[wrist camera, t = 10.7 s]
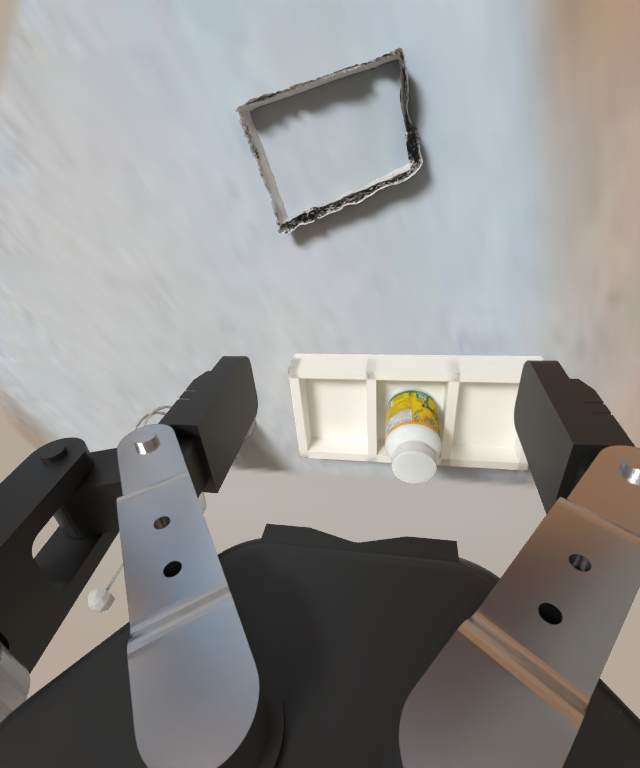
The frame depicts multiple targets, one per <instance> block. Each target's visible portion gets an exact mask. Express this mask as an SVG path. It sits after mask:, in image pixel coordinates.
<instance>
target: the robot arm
mask: <svg viewBox="0 0 640 768" xmlns="http://www.w3.org/2000/svg"><path fill="white" fill-rule="evenodd" d="M257 408H258V400H257V394H256V389H255V383H254V378H253V373H252V368H251V363H250V360H249V358H248V357H246V356H223V357H222V358H221V359H220V360H219V362H218V363H217V364H216V366H215V367H214V368H213V369H212V371H207V372H205V373H204V374H202V375H201V376H199V377H197V378H196V379H194V380H193V382H192V383H191V384H190V385H189V387H188V388H187V389H186V392H185V391H184V393H183V394H182V395H181V396H180V399H179V400H177V401H176V402H175V404H174V405H173V406H172V407H171V409H170V410H169V411H168V412H167V414H166V415H165V416H164V417H163V418H162V420H161V421H160V422H159V423H158V424H153V425H147V426H144V427H141V428H138V429H136V430H134V431H132V432H131V433H129V434H128V435H126V436H125V437H124V438H123V439H122V440H121V441H120V443H119V444H118V447H117V448H114V449H108V450H103V451H97V452H91V453H90V452H89V450H88V448H87V446H86V444H85V442H84V441H83V440H81V439H79V438H64V439H59V440H56V441H53V442H50V443H48V444H46V445H44V446H42V447H40V448H39V449H37V450H36V451H34V452H33V453H32V454H31V455H30V456H29V457H28V458H26V459H25V460H24V461H23V462H22V463H21V464H20V465H19V466H18V467H17V468H16V469H15V470H14V471H13V472H12V473H11V474H10V475H9V476H8V477H7V478H6V479H5V480H4V481H3V482H2V483H0V768H640V719H639V718H638V717H637V716H636V715H635V714H634V713H633V712H632V711H631V710H630V709H629V708H628V707H627V706H626V705H625V704H624V703H623V702H622V701H621V700H620V698H619V697H618V696H616V694H615V693H614V692H613V691H612V690H611V689H610V688H609V687H608V686H607V685H606V684H605V683H604V682H603V681H602V680H601V679H600V675H601V673H602V671H603V669H604V666H605V664H606V662H607V660H608V657H609V655H610V653H611V650H612V648H613V646H614V644H615V641H616V639H617V637H618V634H619V632H620V630H621V628H622V625H623V623H624V621H625V619H626V616H627V614H628V612H629V609H630V607H631V605H632V603H633V600H634V598H635V596H636V593H637V591H638V589H639V587H640V448H637V447H635V446H634V444H633V443H632V441H631V440H630V439H629V437H628V436H627V434H626V433H625V432H624V430H623V429H622V427H621V426H620V425H619V423H618V422H617V420H616V419H615V418H614V416H613V415H611V412H610V411H609V409H608V408H607V406H606V405H603V401H602V399H601V398H600V397H599V395H598V394H597V392H596V391H595V390H594V389H593V388H591V387H590V386H588V385H587V384H585V383H584V382H582V381H581V380H579V379H569V377H568V376H567V374H566V373H565V371H564V370H563V368H562V366H561V365H560V363H559V362H558V361H537V360H527V361H526V362H525V363H524V366H523V369H522V374H521V379H520V383H519V388H518V393H517V398H516V402H515V407H514V425H515V429H516V432H517V435H518V437H519V440H520V443H521V446H522V448H523V451H524V454H525V457H526V459H527V462H528V465H529V468H530V470H531V473H532V476H533V478H534V481H535V484H536V487H537V489H538V492H539V495H540V498H541V500H542V503H543V506H544V509H545V510H546V514H547V515H546V517H545V518H544V519H543V521H542V522H541V524H540V525H539V526H538V528H537V529H536V530H535V532H534V533H533V534H532V536H531V537H530V539H529V540H528V541H527V543H526V544H525V545H524V547H523V548H522V549H521V551H520V552H519V554H518V555H517V556H516V558H515V559H514V561H513V562H512V563H511V565H510V566H509V567H508V569H507V570H506V572H505V573H504V574H503V576H502V577H501V578H499V577H497V576H496V575H494V574H493V573H492V572H490V571H488V570H486V569H485V568H483V567H481V566H479V565H477V564H475V563H473V562H470V561H468V560H465V559H463V558H459V557H458V549H457V541H449V540H439V539H427V538H417V537H400V538H392V539H384V540H377V541H369V542H362V543H356V542H351V541H348V540H345V539H342V538H339V537H336V536H333V535H330V534H327V533H324V532H321V531H318V530H315V529H312V528H307V527H295V526H285V525H274V524H266V527H265V530H264V533H263V536H262V538H260V539H255V540H251V541H247V542H244V543H241V544H239V545H236V546H233V547H231V548H229V549H227V550H225V551H223V552H222V553H220V554H218V555H217V552H216V550H215V547H214V544H213V541H212V538H211V535H210V532H209V530H208V527H207V524H206V521H205V518H204V515H203V512H202V509H201V506H200V503H199V501H198V498H199V496H200V494H201V492H210V493H218V491H219V489H220V487H221V485H222V483H223V481H224V479H225V477H226V475H227V473H228V471H229V469H230V467H231V465H232V463H233V461H234V459H235V457H236V455H237V453H238V451H239V449H240V447H241V445H242V443H243V441H244V439H245V437H246V435H247V433H248V431H249V429H250V427H251V425H252V423H253V421H254V419H255V417H256V414H257ZM52 516H54V517H55V519H56V521H57V522H58V524H59V525H60V526H59V527H58V529H57V530H56V531H55V532H54V534H53V535H52V536H51V538H50V539H49V540H48V541H47V543H46V544H45V545H44V546H43V548H42V549H41V550H40V551H39V553H38V554H37V555H36V557H35V558H34V559H33V557H32V545H33V542H34V540H35V538H36V536H37V534H38V533H39V532H40V530H42V528H43V527H44V526H45V525H46V523H47V522H48V521H49V520H50V518H51V517H52ZM119 531H120V539H121V548H122V557H123V566H124V575H125V584H126V593H127V601H128V611H129V622H128V623H127V624H126V625H124V626H123V627H122V628H120V629H119V630H118V631H116V632H115V633H114V634H112V635H111V636H110V637H109V638H107V639H106V640H105V641H103V642H102V643H101V644H99V645H98V646H97V647H95V648H94V649H93V650H91V651H90V652H89V653H87V654H86V655H85V656H84V657H82V658H81V659H80V660H78V661H77V662H76V663H74V664H73V665H72V666H70V667H69V668H68V669H66V670H65V671H64V672H62V673H61V674H60V675H59V676H57V677H56V678H55V679H53V680H52V681H51V682H49V683H48V684H47V685H45V686H44V687H43V688H41V689H40V690H39V691H38V692H36V693H35V694H34V695H32V696H31V697H30V698H28V699H27V700H26V698H27V695H28V692H29V687H30V676H29V675H30V673H31V671H32V670H33V668H34V667H35V665H36V663H37V662H38V660H39V659H40V657H41V655H42V654H43V652H44V651H45V649H46V647H47V646H48V644H49V643H50V641H51V640H52V638H53V636H54V635H55V633H56V632H57V630H58V628H59V627H60V625H61V623H62V622H63V620H64V619H65V617H66V616H67V614H68V612H69V611H70V609H71V608H72V606H73V604H74V603H75V601H76V600H77V598H78V596H79V595H80V593H81V592H82V590H83V588H84V587H85V585H86V584H87V582H88V580H89V579H90V577H91V576H92V574H93V572H94V571H95V569H96V568H97V566H98V564H99V563H100V561H101V560H102V558H103V556H104V555H105V553H106V552H107V550H108V548H109V547H110V545H111V543H112V542H113V540H114V539H115V537H116V536H117V534H118V532H119ZM25 700H26V701H25Z"/></svg>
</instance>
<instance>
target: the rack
mask: <svg viewBox="0 0 640 768" xmlns="http://www.w3.org/2000/svg"><path fill="white" fill-rule="evenodd" d="M527 360H537V361H544V360H543V358H542V357H541V356H465V355H367V354H295V356H294V358H293V360H292V362H291V364H290V366H289V369H288V374H289V381H290V388H291V395H292V402H293V409H294V417H295V424H296V431H297V438H298V445H299V452H300V457H303V458H320V459H338V460H355V461H372V462H389V463H392V461H391V459H390V458H389V457H388V455H387V453H386V449H385V434H386V412H387V404H388V401H389V399H390V398H391V397H392V395H393V394H395V393H396V392H398V391H400V390H402V389H406V388H417V389H420V390H423V391H425V392H427V393H429V394H430V395H431V396H432V397H433V398H434V400H435V402H436V405H437V411H438V419H439V428H440V435H441V442H442V450H441V454H440V456H439V458H438V459H437V465H440V466H457V467H474V468H491V469H508V470H525V471H527V470H528V466H529V465H528V462H527V459H526V457H525V454H524V451H523V448H522V446H521V443H520V440H519V437H518V435H517V432H516V429H515V425H514V407H515V402H516V398H517V393H518V388H519V383H520V379H521V374H522V369H523V366H524V363H525V362H526V361H527Z"/></svg>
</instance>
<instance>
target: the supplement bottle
mask: <svg viewBox="0 0 640 768" xmlns="http://www.w3.org/2000/svg"><path fill="white" fill-rule="evenodd" d="M385 449H386V453H387V455H388V457H389V458H390V459H391V461H392V470H393V473H394V474H395V476H396V477H397V478H399V479H400V480H402V481H404V482H407V483H414V484H416V483H423V482H426V481H428V480H430V479H431V478H432V477H433V476H434V475H435V473H436V470H437V459H438V458H439V456H440V454H441V450H442V442H441V435H440V428H439V419H438V411H437V405H436V402H435V400H434V398H433V397H432V396H431V395H430V394H429V393H427V392H425V391H423V390H420V389H417V388H406V389H402V390H400V391H398V392H396V393H395V394H393V395H392V397H391V398H390V399H389V401H388V404H387V412H386V434H385Z"/></svg>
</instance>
